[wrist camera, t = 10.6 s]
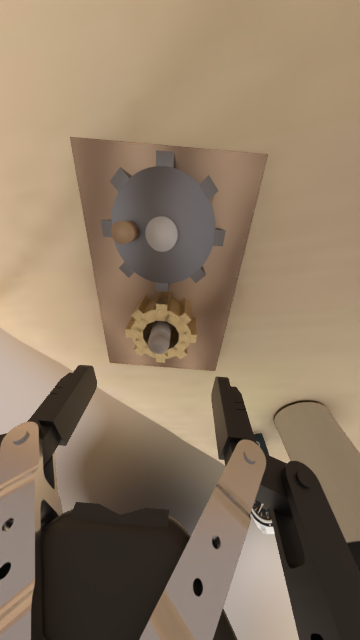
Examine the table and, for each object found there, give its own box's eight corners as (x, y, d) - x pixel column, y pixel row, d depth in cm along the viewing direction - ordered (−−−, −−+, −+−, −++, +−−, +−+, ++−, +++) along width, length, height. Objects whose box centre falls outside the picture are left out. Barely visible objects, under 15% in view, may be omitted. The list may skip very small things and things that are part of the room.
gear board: (259, 160, 13) (314, 118, 7) (213, 362, 23) (221, 408, 18) (81, 144, 13) (2, 91, 7) (114, 354, 23) (91, 398, 17)
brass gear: (198, 293, 17) (200, 307, 14) (191, 345, 20) (192, 364, 17) (132, 287, 17) (122, 301, 14) (135, 341, 20) (128, 360, 17)
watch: (260, 427, 30) (294, 523, 21) (264, 449, 34) (294, 539, 25) (228, 431, 31) (246, 525, 22) (235, 453, 35) (253, 540, 26)
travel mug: (276, 401, 27) (399, 658, 11) (333, 398, 26) (551, 670, 10) (270, 430, 31) (356, 648, 15) (319, 427, 30) (463, 657, 14)
